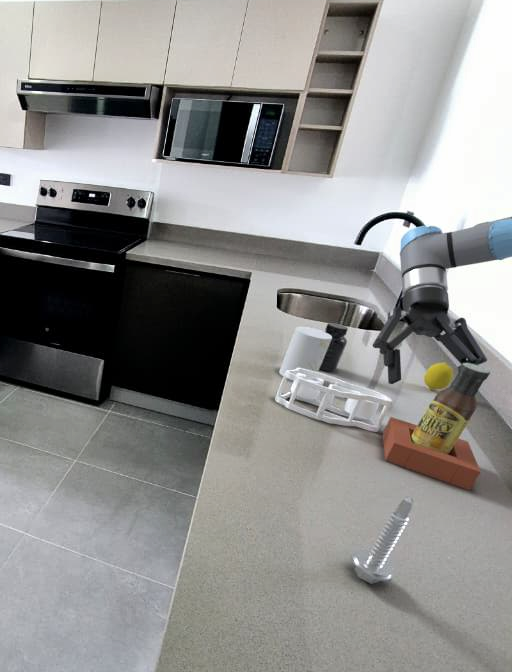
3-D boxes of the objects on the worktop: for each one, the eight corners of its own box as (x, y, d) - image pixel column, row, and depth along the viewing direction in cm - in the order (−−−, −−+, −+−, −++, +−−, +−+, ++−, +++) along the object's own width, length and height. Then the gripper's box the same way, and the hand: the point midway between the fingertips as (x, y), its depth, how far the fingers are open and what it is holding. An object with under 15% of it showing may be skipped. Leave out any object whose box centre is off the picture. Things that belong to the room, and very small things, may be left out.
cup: (308, 386, 122) (327, 341, 117) (275, 374, 126) (291, 329, 121) (317, 378, 127) (335, 335, 123) (285, 366, 132) (301, 324, 127)
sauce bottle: (395, 450, 98) (444, 358, 90) (416, 448, 100) (466, 358, 92) (427, 471, 92) (482, 374, 84) (449, 468, 95) (505, 373, 86)
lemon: (419, 389, 130) (433, 361, 127) (418, 383, 135) (432, 356, 131) (444, 397, 128) (460, 369, 124) (443, 390, 132) (457, 363, 129)
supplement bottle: (313, 359, 140) (329, 319, 135) (338, 369, 136) (356, 328, 131) (303, 364, 136) (320, 323, 131) (330, 374, 132) (348, 332, 127)
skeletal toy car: (379, 423, 108) (394, 393, 105) (375, 441, 100) (390, 410, 97) (283, 388, 119) (294, 360, 116) (272, 403, 110) (283, 373, 107)
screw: (377, 566, 67) (394, 595, 63) (339, 558, 68) (354, 586, 63) (421, 489, 62) (443, 514, 57) (380, 480, 62) (399, 505, 58)
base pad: (457, 458, 99) (467, 441, 97) (469, 490, 88) (481, 472, 86) (382, 433, 104) (390, 416, 102) (385, 460, 94) (394, 442, 92)
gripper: (473, 313, 107) (483, 406, 100) (352, 293, 110) (353, 382, 102) (503, 296, 100) (516, 394, 93) (373, 274, 103) (376, 369, 95)
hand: (431, 388), depth 98 cm, fingers open, 13 cm apart
